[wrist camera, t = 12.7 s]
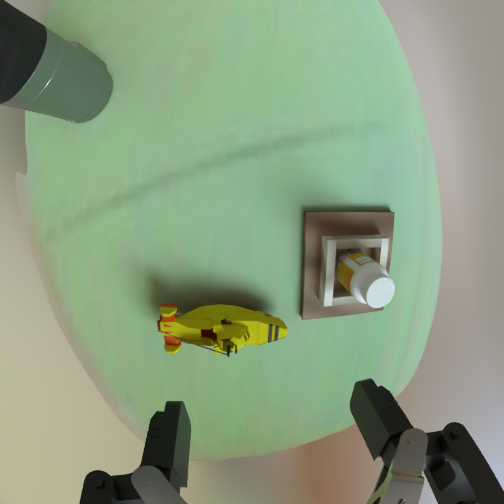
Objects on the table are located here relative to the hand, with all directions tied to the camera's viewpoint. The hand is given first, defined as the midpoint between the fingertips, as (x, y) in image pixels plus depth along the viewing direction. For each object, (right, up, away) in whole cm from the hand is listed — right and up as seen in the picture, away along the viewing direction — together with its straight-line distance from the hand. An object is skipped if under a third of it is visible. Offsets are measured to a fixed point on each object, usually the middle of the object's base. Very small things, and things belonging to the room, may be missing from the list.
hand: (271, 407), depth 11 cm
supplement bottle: (+13, +5, +27) cm, 31 cm away
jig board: (+13, +5, +28) cm, 31 cm away
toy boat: (-5, -2, +29) cm, 30 cm away
